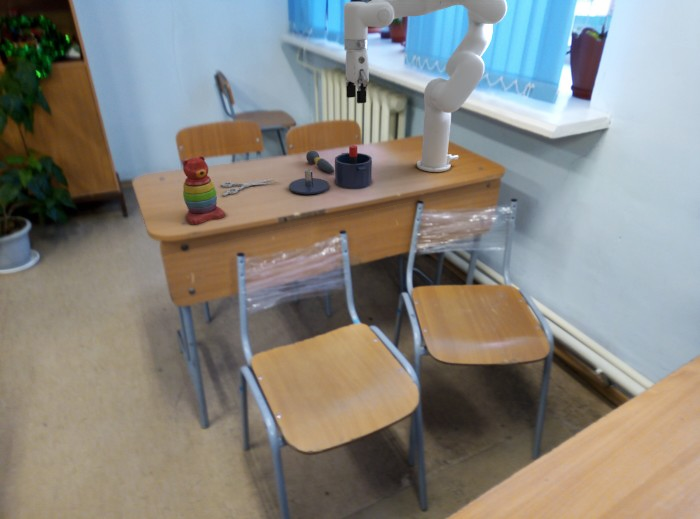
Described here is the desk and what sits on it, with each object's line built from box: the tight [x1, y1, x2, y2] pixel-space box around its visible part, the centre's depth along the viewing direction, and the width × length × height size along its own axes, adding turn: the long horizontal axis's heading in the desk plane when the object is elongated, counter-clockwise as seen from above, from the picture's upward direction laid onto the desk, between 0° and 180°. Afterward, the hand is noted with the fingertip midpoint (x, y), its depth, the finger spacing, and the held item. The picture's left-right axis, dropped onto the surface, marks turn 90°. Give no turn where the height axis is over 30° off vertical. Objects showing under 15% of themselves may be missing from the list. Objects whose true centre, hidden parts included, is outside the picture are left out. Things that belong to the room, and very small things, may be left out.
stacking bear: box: [182, 155, 226, 225], centre depth 140 cm, size 11×10×18 cm
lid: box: [288, 169, 330, 195], centre depth 162 cm, size 14×14×6 cm
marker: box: [348, 145, 358, 164], centre depth 165 cm, size 3×3×12 cm
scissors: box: [221, 178, 277, 197], centre depth 165 cm, size 11×1×20 cm
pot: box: [334, 152, 373, 190], centre depth 166 cm, size 13×18×8 cm
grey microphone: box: [305, 150, 335, 174], centre depth 180 cm, size 20×5×5 cm, turn 38°
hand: (356, 100), depth 162 cm, fingers open, 9 cm apart
